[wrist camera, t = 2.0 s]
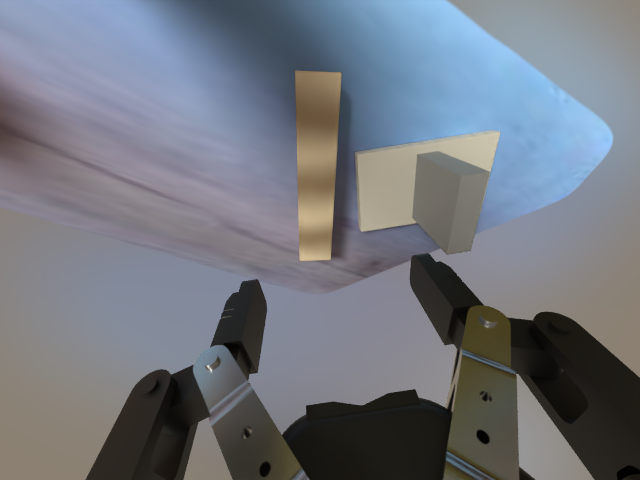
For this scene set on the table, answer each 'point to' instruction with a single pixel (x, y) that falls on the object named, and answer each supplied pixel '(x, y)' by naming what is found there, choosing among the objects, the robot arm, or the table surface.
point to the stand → (427, 186)
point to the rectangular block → (316, 159)
